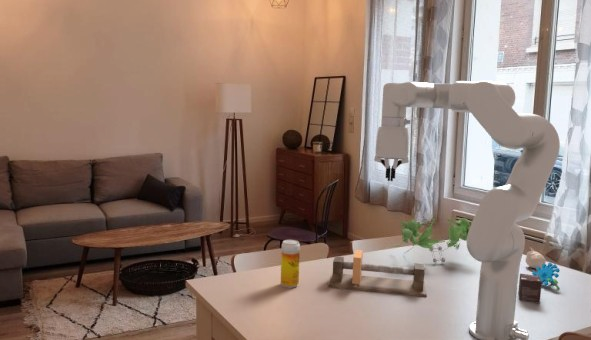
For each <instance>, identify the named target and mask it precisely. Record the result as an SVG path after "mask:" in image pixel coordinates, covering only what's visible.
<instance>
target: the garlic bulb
mask: <svg viewBox="0 0 591 340" xmlns="http://www.w3.org/2000/svg"><path fill="white" fill-rule="evenodd" d="M529 249H530V250H529V251H527V253H526V257H525V263H526V265H527V266H528V267H529V268H532V269H535V270H537V269H536V267H538V266H539V267H540V268H542V264H546V263H547V262H546V258H545V257H544V255H543V254H541V253H540V252H538V251H536V250H534V248H533V247H532V246H529Z"/></svg>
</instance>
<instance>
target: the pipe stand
mask: <svg viewBox="0 0 591 340" xmlns="http://www.w3.org/2000/svg"><path fill="white" fill-rule="evenodd" d="M344 260H345V257H344V256H338V255H337V256H336V255H335V256H334V258H333V261H332V273H331V276H330V279H329V281H328V284H327V285H328V286H327V288H334V289H335V288H336V289H345V290H355V291H367V292H375V293H383V294H397V295H403V296H414V297H425V298H427V297H428V295H427V294H428V293H427V289H426V282H425V265H424V263H418V262H414V265H413V267H405V266H397V265H396V266H395V265H383V264H372V263H363V262H362V263H361V270H362V271H363V272H364V271H365V272H375V273H384V274H385V273H386V274H394V275H395V274H398V275H405V276H413V279H410V280H409V279H401V278H392V277H391V278H389V277H380V276H379V277H377V276H370V275H369V276H367V275H361V280H360V284H353V283H352V278H353V274H347V273H344V270H351V271H353V262H351V261H344Z"/></svg>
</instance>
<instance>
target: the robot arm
mask: <svg viewBox="0 0 591 340" xmlns="http://www.w3.org/2000/svg"><path fill="white" fill-rule="evenodd" d="M515 102H516V93H515V90H514V89H513V87H512V86H511V85H510V84H507V83H505V82H501V81H492V80H480V81H476V80H475V81H472V80H471V81H470V80H469V81H468V80H458V81H455V82H454V83H436V82H435V83H432V82H431V83H429V82H419V81H406V82H387V83H385V84H384V85H383V88H382V102H381V103H382V104H381V124H380V126H378V129H377V134H376V142H375V156H374V159H373V160H374V162H376V163H377V162H378V163H380V164H382V166H384V168H385V179H387V182H389V181H390V182H393V180H394V179H396V170H397V168H398V167H400V165H404V164H408V163H409V161H410V160H409V156H408V155H409V147H410V146H409V143H410V142H409V128H408V127H406V126H407V125H411V119H407V109H408V108H424V109H425V108H426V109H429V108H430V109H442V110H443V109H444V110H451V111H452V112H454V113H455V112H456V113H469V114H472V116H473V117H474V118H475V120H476V121H477V122H478V124H479V125H480V126H481V127H482V128H483V129H484V130H485V132H486V133H487V134H488V135H489V136H490V138H491V139H492V140H493V142H495V143H496V144H498V145H499V146H501V147H502V148H504V149H505V148H506V149H512V150H513V149H514V150H515V149H522V153H521V154H520V156H519V157H518V158H517V160H516V161H515V163H514V165H513V167H512V170H511V173H510V174H509V177H508V178H507V181H506V182H505V184H504V185H502V186H500V185H499V186H498V187H497V186H496V187H494V188H492V189H490V190H489V191H487V192H486V193H485V194H484V195H483V197H482V198H481V201H480V203H479V205H478V207H477V209H476V212H475V214H474V217H473V219H472V220H473V222H472V221H471V222H472V224H471V225H470V226H469V227H470V229H469V232H468V235H467V241H466V248H467V251H468V253H469V256H471V257H472V258H473V259H474V260H475V261H477V262H480V263H481V264H480V271H479V279H478V280H479V281H478V291H477V292H478V293H477V305H476V312H475V313H476V314H475V315H476V317H475V321H473V322H471V323H470V324H469V327H468V331H469V333H470V335H472V336H473V337H475V338H476V339H477V340H529V337H530V336H529V334H528V331H527V330H526V329H523V328H519V326H518V325H519V324H518V323H519V322H518V321H517V320H515V315H516V304H517V295H518V285H519V277H520V267H521V262H522V258H523V253H524V250H525V244H526V243H525V242H526V237H525V233H524V232H523V229H522V228H521V226H520V225H519V224H517V223H518V222H521V221H525V220H527V219H529V218H530V217H532V215H534V213H535V211H536V208H537V206H538V203H539V202H540V199H541V196H542V195H543V193H544V190H545V188H546V185H547V183H548V180H549V178H550V176H551V174H552V171H553V169H554V166H555V165H556V162H557V161H558V158H559V153H560V144H561V143H560V137H559V133H558V132H557V130H556V127H555V126H554V125H553V124H552V123H551V122H550V121H549V120H548V119H547V118H545V117H543V116H541V115H539V114H536V113H535V114H534V113H517V112H516V110H514V109H513V106H515V105H514V104H515ZM390 160H393V164H392V165H390Z"/></svg>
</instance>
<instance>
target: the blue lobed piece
mask: <svg viewBox="0 0 591 340" xmlns="http://www.w3.org/2000/svg"><path fill="white" fill-rule="evenodd" d="M535 270H536V271H537V272H536V271H535ZM535 270H533V271H532V272H531V275H536V276H540V279H541V281H542V285H541V287H542V286H546V287H547V286H549V284H551V285H552V286H555V287H556V289H557V290H560V289H561V287H560V286H559V285H558V284H559V281H558V280H557V278H558V277H559V276H560V275H559V274H558V273H560V268H559V267H558V265H557V264H555V263H554V264H553V263H552V262H548V263H547V264H546V263H545V264H542V268H540V267H539V266H538V267H536V269H535ZM553 276H554V277H555V278H553Z"/></svg>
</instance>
